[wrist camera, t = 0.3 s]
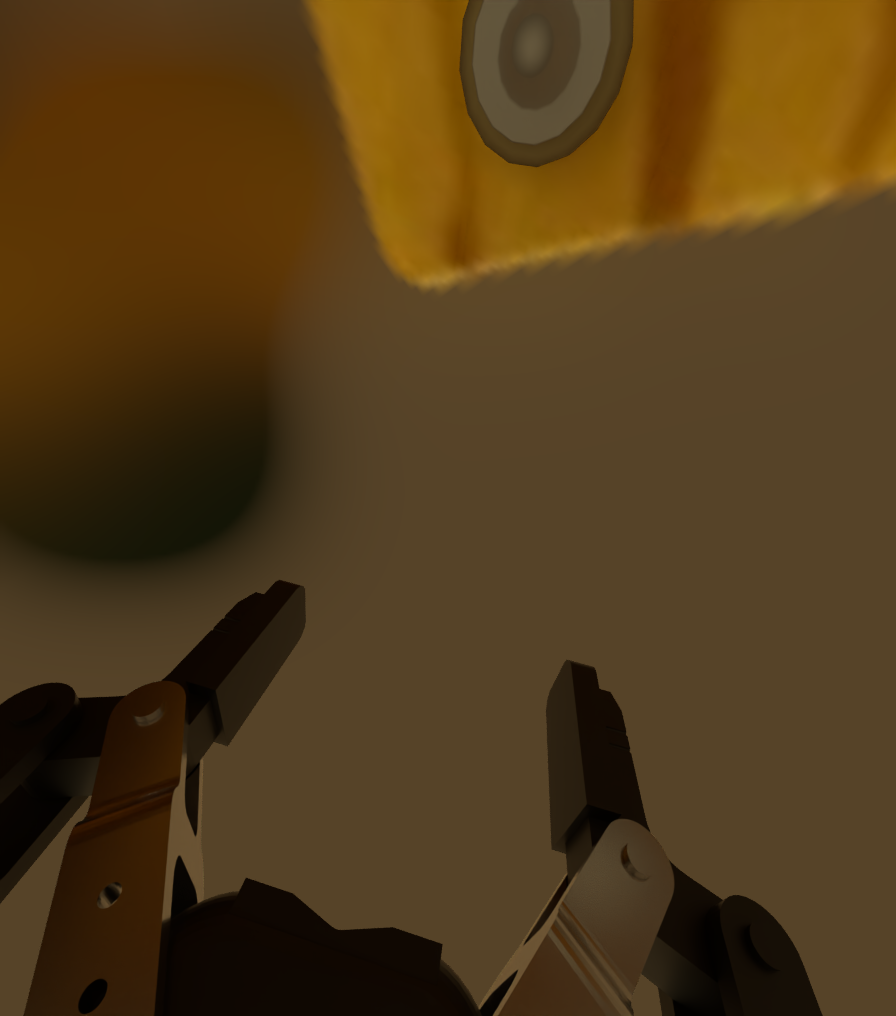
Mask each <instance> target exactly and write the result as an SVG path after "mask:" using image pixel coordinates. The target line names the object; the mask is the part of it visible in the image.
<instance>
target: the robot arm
mask: <svg viewBox="0 0 896 1016" xmlns="http://www.w3.org/2000/svg"><path fill="white" fill-rule="evenodd" d="M305 616H306V615H305V588H304V587H303V586H300V585H297V584H293V583H290V582H286V581H282V580H278V581H276V582H275V583H274V584H273V585H272V586H271V587H270V588H269V590H268V591H267V592H266V593H265V594H261V593H257V592H255V593H254V594H252V595H250V596H248V597H247V598H245V599H243V600H241V601H240V602H238V603H237V604H236V605H235V606H234V607H233V608H232V609H231V610H230V611H229V612H228V613H227V614H226V615H225V618H224V619H222V620H221V621H220V622H219V623H218V624H217V625H216V626H215V627H214V629H213V630H211V631H210V632H209V633H208V634H207V635H206V636H205V637H204V638H203V640H202V641H200V642H199V644H198V645H197V646H196V647H195V648H194V649H193V650H192V651H191V652H190V653H189V654H188V655H187V656H186V657H185V658H184V659H183V660H182V661H181V662H180V663H179V664H178V665H177V666H176V668H175V669H174V670H173V671H172V672H171V673H170V674H169V675H167V676H166V677H165V678H164V679H163V680H162V681H157V682H152V683H149V684H146V685H143V686H141V687H139V688H137V689H135V690H133V691H132V692H130V693H129V694H127V695H126V696H116V697H92V698H78V697H77V695H76V693H75V691H74V690H73V688H72V687H70V686H69V685H67V684H63V683H46V684H41V685H38V686H34V687H31V688H29V689H26V690H24V691H22V692H20V693H18V694H16V695H14V696H12V697H11V698H9V699H7V700H6V701H5V702H3V703H2V704H1V705H0V903H1V902H2V901H3V900H4V898H5V897H6V896H7V895H8V894H9V892H10V891H11V890H12V889H13V888H14V886H15V885H16V884H17V883H18V881H19V880H20V879H21V878H22V877H23V875H24V874H25V873H26V872H27V871H28V869H29V868H30V867H31V866H32V865H33V863H34V862H35V861H36V860H37V858H38V857H39V856H40V855H41V854H42V852H43V851H44V850H45V849H46V848H47V846H48V845H49V844H50V843H51V841H52V840H53V839H54V838H55V837H56V835H57V834H58V833H59V832H60V831H61V829H62V828H63V827H64V826H65V824H66V823H67V822H68V821H69V820H70V818H71V817H72V816H73V815H74V813H75V812H76V811H77V810H78V809H79V807H80V806H81V805H82V804H83V803H84V801H85V800H86V799H87V798H88V796H89V795H92V797H91V801H90V805H89V809H88V812H87V815H86V817H85V818H84V820H83V821H80V822H78V823H77V824H76V825H75V826H74V827H73V829H72V831H71V833H70V835H69V838H68V841H67V844H66V847H65V851H64V855H63V859H62V863H61V867H60V871H59V875H58V879H57V883H56V887H55V891H54V895H53V899H52V903H51V907H50V911H49V915H48V919H47V923H46V927H45V931H44V935H43V939H42V943H41V947H40V951H39V955H38V959H37V963H36V967H35V971H34V975H33V979H32V983H31V987H30V991H29V995H28V999H27V1003H26V1007H25V1011H24V1015H23V1016H634V1015H633V1009H632V1007H631V1000H632V996H633V993H634V990H635V987H636V985H637V982H638V980H639V977H640V975H641V974H642V975H644V976H645V977H646V978H647V979H649V980H650V981H651V982H652V983H654V984H655V985H656V986H657V987H658V990H659V997H660V1003H661V1010H662V1016H822V1013H821V1011H820V1008H819V1006H818V1003H817V1000H816V997H815V995H814V992H813V989H812V986H811V984H810V981H809V978H808V976H807V973H806V971H805V968H804V965H803V963H802V961H801V958H800V956H799V953H798V951H797V950H796V948H795V946H794V944H793V942H792V941H791V939H790V938H789V936H788V935H787V933H786V932H785V930H784V929H783V928H782V926H781V925H780V924H779V923H778V922H777V920H776V919H775V918H774V917H773V916H772V915H771V914H770V913H769V912H768V911H767V910H765V909H764V908H763V907H762V906H761V905H759V904H758V903H756V902H755V901H753V900H751V899H749V898H747V897H744V896H740V895H733V896H729V897H728V898H727V899H724V900H722V899H721V898H719V897H718V896H716V895H715V894H713V893H712V892H710V891H709V890H707V889H706V888H705V887H703V886H702V885H700V884H699V883H697V882H696V881H694V880H693V879H691V878H690V877H688V876H687V875H686V874H684V873H683V872H682V871H680V870H679V869H678V868H676V866H674V865H673V864H672V863H671V862H670V860H669V859H668V857H667V855H666V853H665V851H664V849H663V848H662V846H661V845H660V843H659V842H658V841H657V839H656V838H655V837H654V836H653V835H652V834H651V832H650V830H649V827H648V825H647V821H646V818H645V813H644V809H643V804H642V800H641V795H640V791H639V786H638V782H637V777H636V773H635V769H634V764H633V760H632V755H631V753H630V746H629V742H628V737H627V736H626V728H625V724H624V720H623V715H622V711H621V710H620V708H619V706H618V704H617V703H616V701H615V699H614V698H613V696H612V694H611V692H608V691H605V690H601V689H599V685H598V679H597V674H596V670H595V668H594V667H592V666H588V665H584V664H581V663H577V662H574V661H570V660H566V661H565V663H564V665H563V666H562V668H561V670H560V673H559V674H558V676H557V678H556V680H555V682H554V684H553V686H552V688H551V690H550V693H549V696H548V700H547V708H546V717H547V745H548V769H549V794H550V818H551V819H550V820H551V844H552V850H555V851H559V852H562V853H565V854H566V859H567V873H566V874H565V875H564V877H563V878H562V880H561V882H560V883H559V885H558V887H557V888H556V890H555V891H554V893H553V894H552V896H551V897H550V899H549V901H548V902H547V904H546V905H545V907H544V908H543V910H542V912H541V913H540V915H539V916H538V918H537V920H536V921H535V923H534V924H533V926H532V927H531V929H530V931H529V932H528V934H527V936H526V937H525V938H524V940H523V942H522V943H521V945H520V946H519V948H518V949H517V951H516V952H515V953H514V955H513V956H512V957H511V959H510V960H509V961H508V963H507V964H506V966H505V967H504V968H503V970H502V971H501V973H500V974H499V976H498V977H497V979H496V980H495V982H494V983H493V985H492V986H491V988H490V990H489V991H488V993H487V994H486V996H485V997H484V999H483V1001H482V1002H481V1004H480V1005H479V1007H478V1006H477V1004H476V1003H475V1001H474V999H473V997H472V995H471V994H470V992H469V990H468V989H467V988H466V986H465V985H464V983H463V982H462V981H461V979H460V978H459V976H458V975H457V974H456V973H455V972H454V971H453V970H452V969H451V968H450V966H449V965H447V964H446V963H445V962H444V961H443V960H441V952H442V944H440V943H437V942H435V941H432V940H428V939H426V938H423V937H420V936H417V935H414V934H411V933H408V932H405V931H402V930H399V929H396V928H393V927H390V928H372V929H354V930H337V929H335V928H333V927H332V926H330V925H329V924H328V923H327V922H326V921H324V920H323V919H322V918H321V917H320V916H318V915H317V914H316V913H315V912H314V911H313V910H311V909H310V908H309V907H308V906H307V905H306V904H304V903H303V902H302V901H301V900H300V899H299V898H297V897H296V896H295V895H294V894H293V893H290V892H287V891H284V890H281V889H278V888H275V887H272V886H269V885H266V884H263V883H260V882H257V881H254V880H251V879H248V878H246V879H245V881H244V883H243V885H242V887H241V889H240V891H239V892H229V893H225V894H220V895H217V896H214V897H211V898H209V899H206V900H203V895H204V870H203V857H202V848H201V822H202V787H203V786H202V785H203V756H204V755H205V753H206V752H207V750H208V749H209V748H210V746H211V745H212V743H213V742H216V743H219V744H223V745H225V746H228V745H229V743H230V742H231V740H232V739H233V738H234V736H235V734H236V733H237V732H238V730H239V729H240V727H241V726H242V724H243V723H244V721H245V720H246V718H247V717H248V715H249V714H250V712H251V711H252V709H253V708H254V706H255V705H256V703H257V702H258V700H259V699H260V698H261V696H262V694H263V693H264V691H265V690H266V689H267V687H268V686H269V684H270V683H271V681H272V680H273V678H274V677H275V675H276V674H277V672H278V671H279V669H280V668H281V666H282V665H283V663H284V662H285V660H286V659H287V657H288V656H289V655H290V653H291V652H292V650H293V648H294V647H295V646H296V644H297V642H298V641H299V639H300V638H301V635H302V633H303V630H304V627H305V622H306V618H305Z"/></svg>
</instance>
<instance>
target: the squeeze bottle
mask: <svg viewBox="0 0 896 1016" xmlns="http://www.w3.org/2000/svg"><path fill="white" fill-rule="evenodd" d="M632 42H633V0H469V3H468V6H467V9H466V12H465V15H464V18H463V26H462V41H461V56H460V75H461V80H462V86H463V91H464V96H465V101H466V106H467V111H468V114H469V116H470V118H471V120H472V122H473V123H474V125H475V127H476V129H477V131H478V133H479V134H480V136H481V138H482V140H483V142H484V143H485V145H486V146H488V147H489V148H490V149H491V150H493V151H494V152H495V153H497V154H498V155H499V156H501V157H502V158H503V159H505V160H506V161H507V162H508V163H512V164H520V165H527V166H534V167H538V166H541V165H544V164H547V163H549V162H552V161H555V160H557V159H560V158H563V157H565V156H568V155H570V154H571V153H572V152H573V151H574V150H576V149H577V148H578V147H579V146H580V145H581V144H582V143H583V142H584V141H585V140H586V139H588V138H589V137H590V136H591V135H592V134H593V133H594V132H595V131H596V130H597V129H598V127H599V126H600V124H601V122H602V121H603V119H604V117H605V116H606V114H607V112H608V110H609V109H610V107H611V105H612V104H613V102H614V100H615V99H616V97H617V95H618V93H619V91H620V87H621V84H622V80H623V77H624V73H625V70H626V66H627V62H628V59H629V55H630V52H631V48H632Z"/></svg>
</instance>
